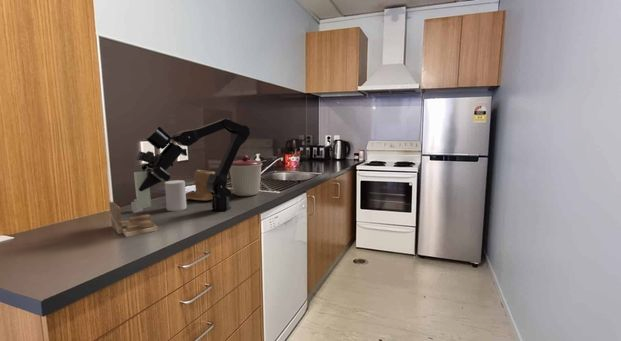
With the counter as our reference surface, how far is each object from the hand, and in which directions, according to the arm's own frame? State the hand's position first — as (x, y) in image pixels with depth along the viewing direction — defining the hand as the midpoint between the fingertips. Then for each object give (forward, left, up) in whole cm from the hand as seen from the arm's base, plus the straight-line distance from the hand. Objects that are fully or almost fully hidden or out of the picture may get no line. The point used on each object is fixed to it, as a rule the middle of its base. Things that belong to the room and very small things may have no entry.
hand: (138, 189), depth 115 cm
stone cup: (-2, -42, -13) cm, 44 cm away
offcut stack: (-5, +7, -12) cm, 15 cm away
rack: (0, +4, -13) cm, 14 cm away
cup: (+1, -24, -13) cm, 28 cm away
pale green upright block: (-1, -1, -7) cm, 7 cm away
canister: (-20, -56, -13) cm, 61 cm away
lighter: (+15, -19, -13) cm, 28 cm away
